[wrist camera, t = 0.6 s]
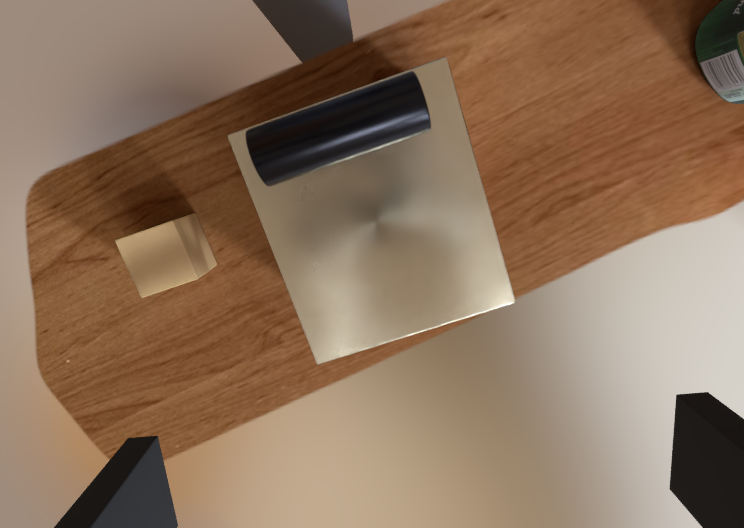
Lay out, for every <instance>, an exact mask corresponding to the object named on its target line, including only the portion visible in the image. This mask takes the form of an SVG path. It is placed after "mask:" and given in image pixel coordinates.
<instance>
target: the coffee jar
mask: <svg viewBox="0 0 744 528" xmlns="http://www.w3.org/2000/svg"><path fill="white" fill-rule="evenodd" d="M695 49H696V55H697V59H698V62H699V65H700V68H701V70H702V73H703V75H704V77H705V79H706V80H707V82H708V83H709V85H710V86H711V87H712V89H713V90H714V91H715V92H716V93H717V94H718V95H719V96H720V97H721V98H722V99H724V100H726V101H728V102H731V103H737V104H742V103H744V0H723V1H721V2H720V3H719V4H718V5H717V6H716V7H715V8H713V9H712V10H711V11H710V12H709V13H708V15H707V16H706V17H705V18H704V20H703V21H702V23H701V25H700V26H699V28H698V31H697V35H696V41H695Z"/></svg>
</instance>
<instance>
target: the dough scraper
mask: <svg viewBox="0 0 744 528" xmlns="http://www.w3.org/2000/svg"><path fill="white" fill-rule="evenodd" d="M227 137H228V140H229V142H230V145H231V147H232V150H233V152H234V155H235V157H236V160H237V162H238V165H239V168H240V170H241V173H242V175H243V178H244V180H245V183H246V185H247V188H248V190H249V193H250V196H251V198H252V201H253V203H254V206H255V208H256V211H257V213H258V216H259V218H260V221H261V224H262V226H263V229H264V231H265V234H266V236H267V239H268V241H269V244H270V246H271V249H272V252H273V254H274V257H275V259H276V262H277V264H278V267H279V269H280V272H281V274H282V277H283V280H284V282H285V285H286V287H287V290H288V292H289V295H290V297H291V300H292V302H293V305H294V308H295V310H296V313H297V315H298V318H299V320H300V323H301V325H302V328H303V330H304V333H305V336H306V338H307V341H308V343H309V346H310V348H311V351H312V353H313V356H314V358H315V361H316V364H317V365H318V364H322V363H325V362H328V361H331V360H334V359H337V358H341V357H344V356H347V355H350V354H353V353H357V352H360V351H363V350H366V349H369V348H372V347H376V346H379V345H382V344H385V343H388V342H392V341H395V340H398V339H401V338H404V337H407V336H411V335H414V334H417V333H420V332H423V331H426V330H430V329H433V328H436V327H439V326H442V325H446V324H449V323H452V322H455V321H458V320H461V319H465V318H468V317H471V316H474V315H477V314H481V313H484V312H487V311H490V310H493V309H496V308H500V307H503V306H506V305H509V304H512V303H515V302H516V301H515V297H514V293H513V290H512V286H511V283H510V279H509V276H508V272H507V269H506V265H505V261H504V258H503V254H502V251H501V247H500V244H499V240H498V237H497V233H496V230H495V226H494V222H493V219H492V215H491V212H490V208H489V205H488V201H487V198H486V194H485V190H484V187H483V183H482V180H481V176H480V173H479V169H478V166H477V162H476V159H475V155H474V151H473V148H472V144H471V141H470V137H469V134H468V130H467V127H466V123H465V120H464V116H463V112H462V109H461V105H460V102H459V98H458V95H457V91H456V88H455V84H454V81H453V77H452V73H451V70H450V66H449V63H448V59H447V57H443V58H440V59H438V60H435V61H432V62H429V63H426V64H424V65H421V66H418V67H415V68H412V69H410V70H407V71H404V72H401V73H398V74H396V75H393V76H390V77H387V78H384V79H382V80H379V81H376V82H373V83H371V84H368V85H365V86H362V87H359V88H357V89H354V90H351V91H348V92H345V93H343V94H340V95H337V96H334V97H331V98H329V99H326V100H323V101H320V102H317V103H315V104H312V105H309V106H306V107H304V108H301V109H298V110H295V111H292V112H290V113H287V114H284V115H281V116H278V117H276V118H273V119H270V120H267V121H264V122H262V123H259V124H256V125H253V126H250V127H248V128H245V129H242V130H239V131H237V132H234V133H231V134H228V135H227Z"/></svg>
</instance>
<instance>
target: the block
mask: <svg viewBox="0 0 744 528" xmlns="http://www.w3.org/2000/svg"><path fill="white" fill-rule="evenodd" d="M115 243H116V245H117V247H118V249H119V251H120V253H121V255H122V258H123V260H124V262H125V264H126V266H127V268H128V270H129V273H130V275H131V277H132V279H133V281H134V283H135V285H136V288H137V290H138V292H139V294H140V296H141V298H143V297H146V296H149V295H152V294H155V293H158V292H161V291H164V290H167V289H170V288H173V287H176V286H179V285H182V284H185V283H188V282H191V281H194V280H197V279H198V278H200V277H201V276H203V275H204V274H205V273H207V272H208V271H209V270H211V269H212V268H214V267H215V266H216V265H217V263H216V261H215V258H214V256H213V253H212V251H211V249H210V246H209V244H208V242H207V239H206V237H205V234H204V232H203V230H202V227H201V225H200V223H199V220H198V218H197V216H196V213H192V214H189V215H186V216H183V217H180V218H177V219H175V220H172V221H169V222H166V223H163V224H160V225H157V226H154V227H151V228H149V229H146V230H143V231H140V232H137V233H134V234H131V235H128V236H126V237H123V238H120V239H117V240H115Z"/></svg>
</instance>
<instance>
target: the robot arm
mask: <svg viewBox="0 0 744 528" xmlns="http://www.w3.org/2000/svg"><path fill="white" fill-rule="evenodd" d="M671 465H672V466H671V479H670V490H671V491H672V492H673V493H674V494H675V496H676V497H677V498H678V499H679V500H680V501H681V503H682V504H683V505H684V506H685V507H686V508H687V510H688V511H689V512H690V513H691V514H692V515H693V517H694V518H695V519H696V520H697V521H698V523H699V524H700V525H701V526H702V527H703V528H744V419H743V418H741V417H740V416H739V415H737V414H736V413H735V412H733V411H732V410H731V409H729V408H728V407H727V406H725V405H724V404H723V403H721V402H720V401H719V400H717V399H716V398H715V397H713V396H712V395H711V394H709V393H708V392H705V393H692V394H680V395H677V396H676V409H675V423H674V438H673V451H672V464H671ZM177 526H178V524H177V519H176V515H175V510H174V506H173V501H172V497H171V493H170V488H169V484H168V479H167V475H166V470H165V466H164V462H163V457H162V453H161V448H160V444H159V440H158V436H149V437H136V438H128V439H127V440H126V441H125V443H124V444H123V445H122V446H121V447H120V449H119V450H118V451H117V452H116V453H115V455H114V456H113V457H112V458H111V459H110V461H109V462H108V463H107V464H106V466H105V467H104V468H103V469H102V470H101V472H100V473H99V474H98V475H97V476H96V478H95V479H94V480H93V481H92V482H91V484H90V485H89V486H88V487H87V488H86V490H85V491H84V492H83V494H81V496H80V497H79V498H78V499H77V500H76V502H75V503H74V504H73V505H72V507H71V508H70V509H69V510H68V511H67V513H66V514H65V515H64V516H63V517H62V519H61V520H60V521H59V522H58V524H57V525H56V526H55V527H54V528H177Z"/></svg>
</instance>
